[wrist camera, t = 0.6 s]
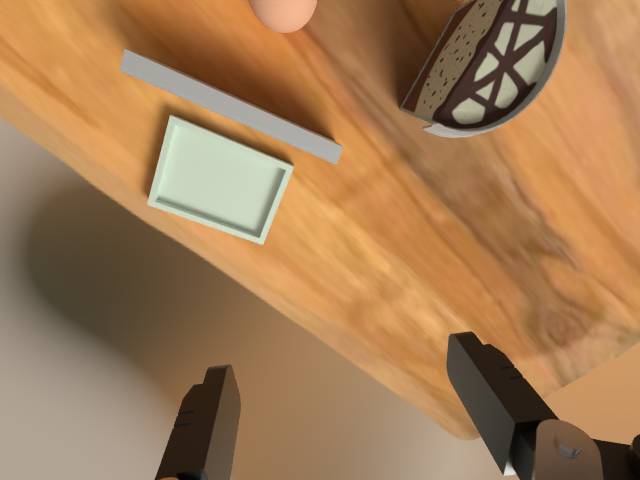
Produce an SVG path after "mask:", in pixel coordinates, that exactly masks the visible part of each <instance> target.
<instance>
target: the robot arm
mask: <svg viewBox="0 0 640 480" xmlns="http://www.w3.org/2000/svg"><path fill="white" fill-rule="evenodd" d="M447 373H448V376H449V379H450V382H451V384H452V385H453V387H454V389H455V391H456V393H457V394H458V396H459V398H460V400H461V401H462V403H463V405H464V407H465V408H466V410H467V412H468V414H469V416H470V417H471V419H472V421H473V423H474V424H475V426H476V428H477V430H478V431H479V433H480V435H481V437H482V439H483V440H484V442H485V444H486V446H487V447H488V449H489V451H490V453H491V455H492V456H493V458H494V460H495V462H496V463H497V465H498V467H499V468H500V470H501V472H502V474H503V475H504V476H506V475H512V474H517V475H518V477H519V479H520V480H640V435H637V436H636V437H635V438H634V440H633V442H632V444H631V445H626V444H620V443H614V442H607V441H601V440H596V439H592V438H590V437H589V436H588V435H587V434H586V433H585V432H584V431H582V430H581V429H579V428H578V427H576V426H574V425H572V424H570V423H568V422H565V421H562V420H559V419H558V418H557V416H556V415H555V414H554V413H553V412H552V410H551V409H550V408H549V407H548V406H547V405H546V403H545V402H544V401H543V400H542V398H541V397H540V396H539V395H538V394H537V392H536V391H535V390H534V389H533V388H532V386H531V385H530V384H529V383H528V382H527V380H526V379H525V378H523V376H522V374H521V373H520V372H519V371H518V370H517V368H515V367H514V365H513V364H512V362H511V361H510V360H509V359H508V358H507V356H506V355H505V354H504V353H503V352H501V351H500V350H498V349H497V348H495V347H494V346H492V345H491V344H486V345H483V344H482V343H481V341H480V340H479V339H478V338H477V336H476V335H475V334H474V333H473V332H471V331H470V332H463V333H455V334H450V336H449V341H448V353H447ZM240 410H241V402H240V394H239V390H238V387H237V383H236V380H235V376H234V373H233V369H232V366H231V365H230V364H228V365H221V366H214V367H209V368H208V369H207V372H206V375H205V379H204V382H203V384H197V385H193V387H192V388H191V389H190V390H189V392H188V393H187V394H186V396H185V397H184V399H183V401H182V404H181V407H180V409H179V412H178V416H177V418H176V421H175V424H174V429H173V430H172V432H171V435H170V438H169V441H168V444H167V447H166V449H165V452H164V455H163V458H162V461H161V464H160V466H159V469H158V472H157V475H156V477H155V480H230V475H231V469H232V463H233V456H234V450H235V443H236V437H237V430H238V424H239V417H240Z"/></svg>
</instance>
